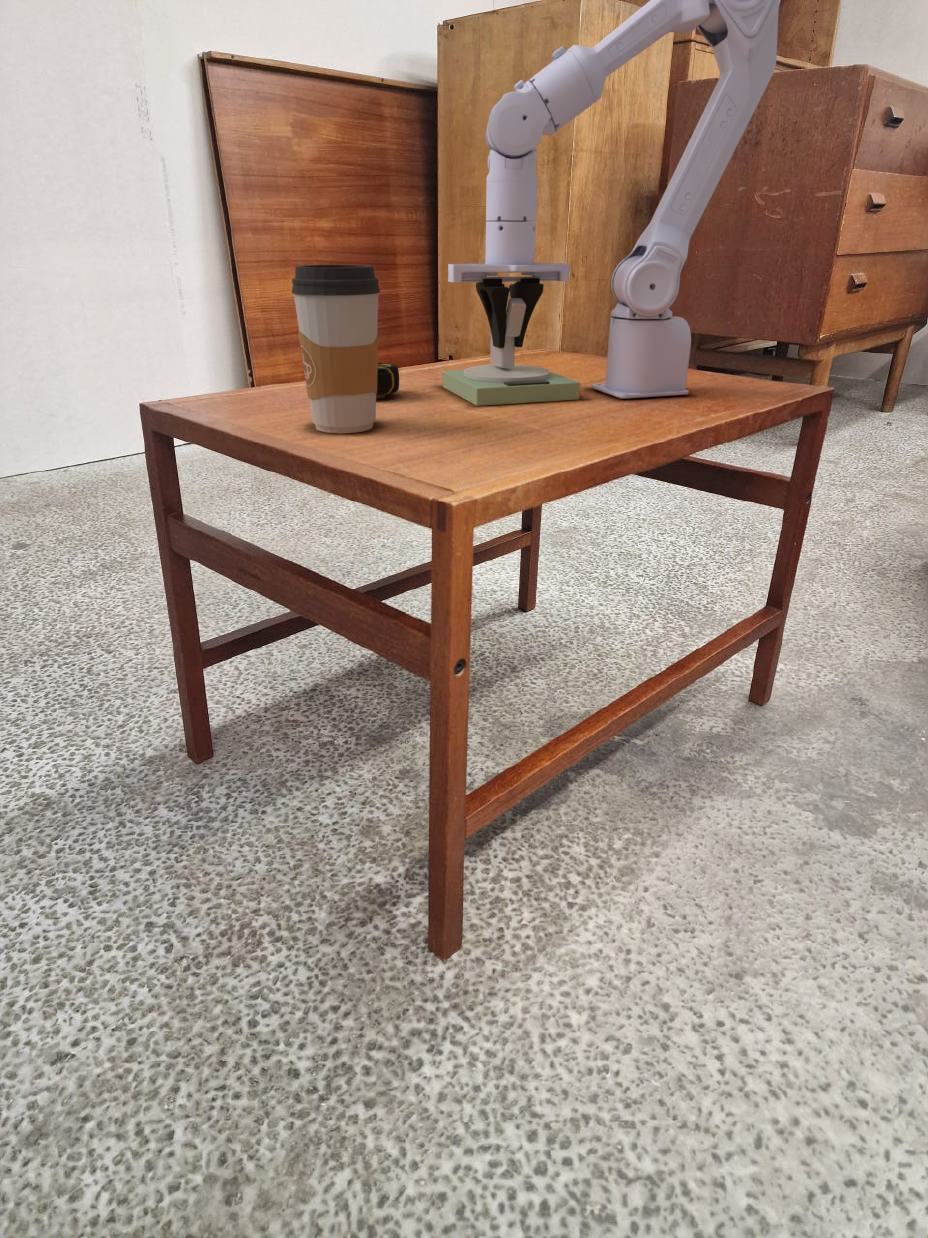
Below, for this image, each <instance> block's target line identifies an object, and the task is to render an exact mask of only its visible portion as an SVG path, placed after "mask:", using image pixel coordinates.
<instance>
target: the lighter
mask: <svg viewBox="0 0 928 1238" xmlns="http://www.w3.org/2000/svg"><path fill="white" fill-rule="evenodd" d="M525 310H526V304H525V303H524V301H523V299H522V298H510V297H509V298H508V302H507V309H506V318H505V346H504V348H497V347H494V346H493V341H492V335H491V334H490V345H489V347H490V349H489V350H490V351H489V356H490V357H489V364H494V365H496V366H499V367H501V368H506V367H514V364H515V357H516V356H515V355H516V352H515V351H516V347H515V337H517V336H519V335H520V332H521V327H522V323H523V318H524V314H525Z"/></svg>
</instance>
